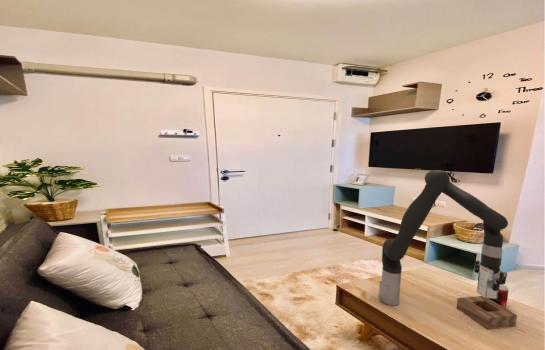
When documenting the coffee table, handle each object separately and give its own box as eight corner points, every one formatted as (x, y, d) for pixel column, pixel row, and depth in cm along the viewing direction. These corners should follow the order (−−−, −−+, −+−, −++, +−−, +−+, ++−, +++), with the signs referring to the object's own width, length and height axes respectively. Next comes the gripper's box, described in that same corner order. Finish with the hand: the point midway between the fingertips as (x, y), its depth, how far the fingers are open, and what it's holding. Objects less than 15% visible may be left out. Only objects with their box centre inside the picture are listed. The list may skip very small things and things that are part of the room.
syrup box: (488, 292, 128) (491, 265, 127) (497, 299, 122) (501, 270, 121) (476, 292, 129) (479, 264, 127) (485, 298, 123) (488, 269, 122)
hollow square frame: (487, 329, 117) (488, 318, 117) (456, 308, 133) (457, 298, 132) (515, 326, 120) (516, 315, 120) (482, 305, 136) (483, 295, 135)
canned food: (502, 303, 138) (505, 284, 137) (508, 311, 131) (511, 291, 130) (485, 299, 142) (487, 280, 140) (490, 307, 134) (492, 287, 133)
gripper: (470, 248, 130) (467, 279, 131) (500, 260, 116) (496, 295, 117) (483, 247, 131) (479, 278, 133) (514, 259, 117) (510, 294, 119)
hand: (487, 286), depth 125 cm, fingers closed on syrup box, 6 cm apart
